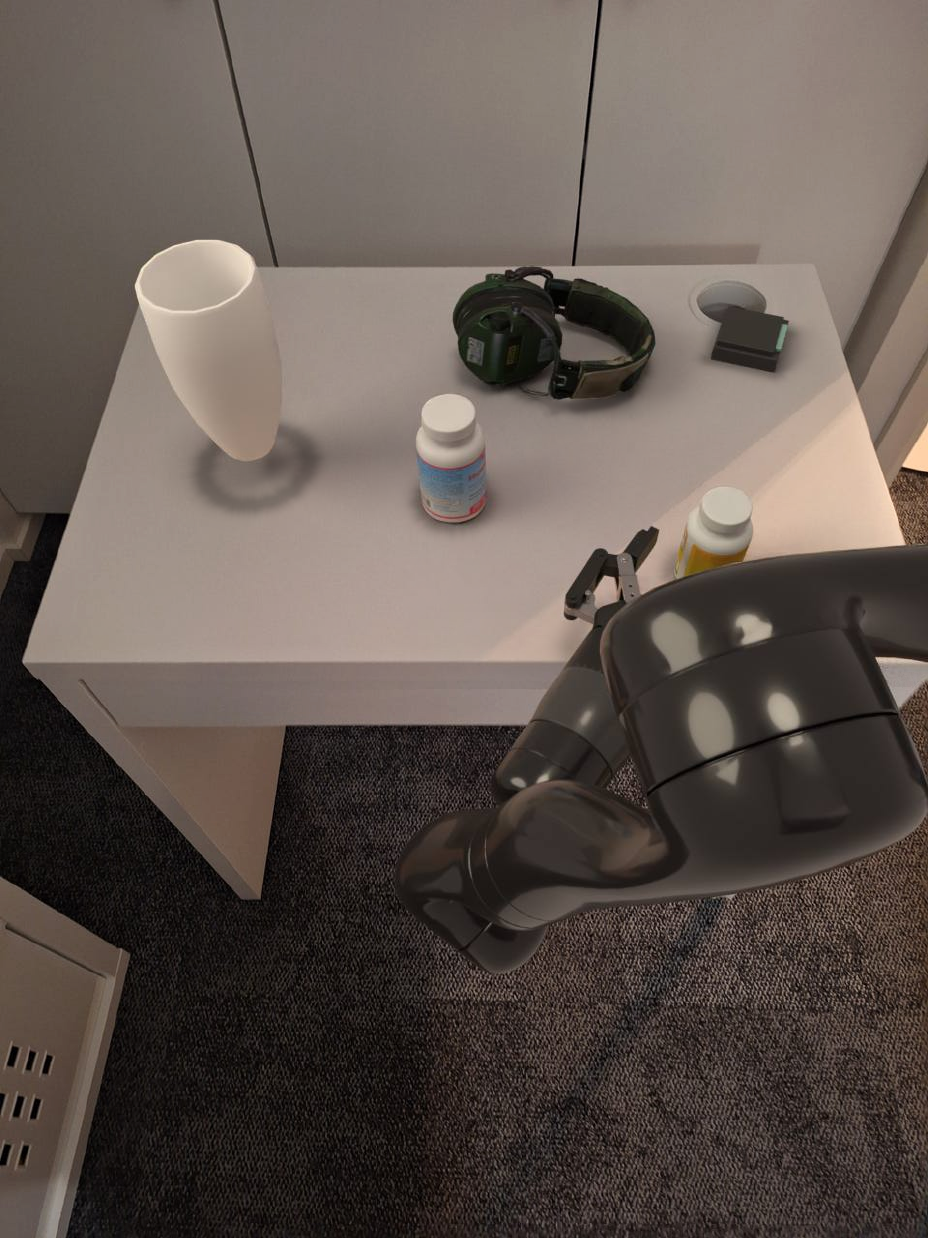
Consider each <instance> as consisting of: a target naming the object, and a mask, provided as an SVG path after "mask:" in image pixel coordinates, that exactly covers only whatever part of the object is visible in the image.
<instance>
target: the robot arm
mask: <svg viewBox="0 0 928 1238" xmlns="http://www.w3.org/2000/svg"><path fill="white" fill-rule="evenodd" d="M659 535H660V529H659V528H658V527H655V526H653V525H651V526H650V527H649V528H648V529H647V530H646V529H644V528H642V529H640V530H639V531H637V532H636V534H635V535H634V537H633V538H632V539H631V541H630V542H629V543H628V544H627V546H626V547H625V548H624V549H623V551H622V552H620V553H619V554H618V553H617V554H613V553H609V551H608V550H606V549H605V548H602V547H597V548H596V549H594V550H593V552H592V553H591V555H590V557H589V558H588V559H587V561H586V562H585V564H584V566H583V567H582V568H581V570H580V572H579V573H578V575H577V576H576V578H575V580H574V581H573V582H572V584H571V585H570V586H569V589H568V590H567V591H566V593H565V596H564V604H563V617H564V618H565V619H566V620H567V621H575V620H577V619H581V620H583V621H585V622H587V623H589V624H591V625H592V627H591V629H590V630H589V632H588V633H587V635H586V636H585V637H584V639H583V640H582V642H581V643H580V645H579V646H578V647H577V649H576V650H575V651H574V653H572V656H571V657H570V658H569V660H568V662H566V664H565V666H564V667H563V668H562V670H561V671H560V672H559V674H558V675H557V676H556V678H555V679H554V681H553V682H552V683H551V685H549V688H548V689H547V690H546V692H545V693H544V695H543V696H542V698H541V699H540V701H539V703H538V705H537V707H536V709H535V710H534V713H533V714H532V717H531V719H530V720H529V721H528V723H527V725H526V726H525V728H524V729H523V730H522V731H521V733H520V735H519V736H518V737H517V739H516V740H515V742H514V743H513V744H512V745H511V747H510V748H509V750H508V752H506V754H505V755H504V757H502V760H501V761H500V762H499V764H498V765H497V766H496V768H495V770H494V772H493V774H492V776H491V778H490V781H489V790H490V794H491V796H492V797H491V798H492V799H493V800H494V802H495V804H496V805H497V807H488V808H487V807H486V808H465V809H459V810H454V811H450V812H447V813H445V814H442V815H440V816H438V817H436V818H434V819H432V820H431V821H429V822H428V823H426V824H425V825H423V826H422V827H421V828H419V829H418V830H417V831H416V832H415V833H414V834H412V836H411V837H410V838H409V840H408V841H407V842H406V844H405V845H404V846H403V848H402V849H401V852H400V854H399V855H398V858H397V860H396V864H395V867H394V877H393V884H394V889H395V894H396V895H397V898H398V900H399V902H400V904H401V905H402V906H403V908H404V909H405V910H406V911H408V913H409V914H410V915H412V916H413V917H414V919H415V918H416V919H417V921H419V922H420V923H422V924H423V925H424V926H425V927H426V928H428V929H429V930H430V931H431V932H433V933H434V934H435V935H437V936H438V937H439V938H440V939H442V940H443V941H444V942H445V943H447V944H448V945H449V946H450V947H452V948H453V949H454V950H455V951H457V952H458V953H459V954H460V955H461V956H462V957H464V958H465V959H466V960H467V961H469V962H470V964H472V965H473V966H475V967H476V968H478V969H480V970H481V971H483V972H484V973H487V974H490V975H497V976H498V975H504V974H508V973H512V972H514V971H516V970H517V969H519V968H521V967H523V966H524V965H526V963H528V962H529V961H530V960H531V959H532V958H533V957H534V955H536V954H537V952H538V950H539V949H540V948H541V946H542V944H543V942H544V940H545V938H546V937H547V934H548V932H549V930H550V927H551V925H555V924H558V923H560V922H563V921H565V920H568V919H571V918H573V917H575V916H578V915H581V914H584V913H587V912H591V911H595V910H600V909H609V908H611V909H612V908H627V907H643V906H654V905H665V904H673V903H678V902H680V903H681V902H688V901H697V900H703V899H710V898H711V899H712V898H717V897H725V896H731V895H737V894H743V893H751V892H755V891H761V890H766V889H769V888H770V889H771V888H775V887H779V886H783V885H787V884H791V883H794V882H799V881H802V880H806V879H810V878H813V877H816V876H819V875H823V874H825V873H829V872H832V871H836V870H839V869H843V868H846V867H848V866H850V865H851V866H852V865H853V864H855V863H856V864H857V863H858V862H860V861H864V860H866V859H868V858H870V857H873V856H875V855H878V854H880V853H883V852H884V851H885V850H887V849H889V848H890V847H892V846H894V845H896V844H897V843H900V841H901V842H902V841H903V840H904V839H906V838H907V837H909V836H910V835H911V834H913V832H915V831H916V830H917V828H919V826H920V825H921V824H922V823H923V822H924V820H925V818H926V817H927V814H928V779H927V775H926V771H925V768H924V765H923V763H922V759H921V756H920V754H919V752H918V750H917V746H916V744H915V742H914V739H913V738H912V735H911V733H910V730H909V727H908V725H907V724H906V721H905V719H904V717H902V716H900V715H901V710H900V708H899V706H898V704H897V702H896V699H895V697H894V695H893V693H892V691H891V689H890V686H889V684H888V682H887V680H886V677H885V676H884V673H883V671H882V669H881V666H880V664H879V662H878V660H877V658H884V659H885V658H886V659H887V658H888V659H891V658H893V659H901V660H902V659H903V660H910V661H916V662H921V663H927V664H928V542H927V543H915V544H900V545H889V546H887V545H886V546H875V547H861V548H848V549H837V550H836V549H835V550H823V551H822V550H821V551H813V552H804V553H794V554H793V553H792V554H783V555H776V556H775V555H774V556H770V557H764V558H763V557H762V558H757V559H749V560H743V562H738V563H733V564H728V565H724V566H720V567H715V568H712V569H708V570H704V571H700V572H696V573H693V574H690V575H687V576H684V577H681V578H679V579H676V578H675V579H674V580H673V579H672V580H671V581H668V582H666V583H663V584H660V585H658V586H656V587H655V586H654V587H653V588H651V589H650V590H648V591H646V592H644V593H642V594H641V591H640V590H641V589H640V585H639V580H638V576H637V572H638V571H639V569H640V568H641V566H642V565H643V563H645V561H646V559H647V558H648V556H649V555H650V554H651V552H652V551H653V549H654V548H655V546H656V545H657V542H658V539H659ZM604 577H610V578H613V581H614V587H615V592H616V601H614V602H610V603H608V604H605V605H602V606H600V607H599V608H598V607H596V605H595V602H596V595H595V591H596V590H597V588H598V587H599V585H600V583H601V582H602V580H603V579H604ZM630 759H631V761H632V764H633V767H634V770H635V773H636V776H637V778H638V782H639V785H640V788H641V791H642V794H643V797H644V798H645V802H646V805H647V808H644V807H642V806H640V805H639V804H637V803H636V802H633V801H632V800H629V799H627V798H626V797H623V796H621V795H619V794H618V793H615V792H613V791H611V790H609V789H607V788H608V786H609V785H610V784H611V781H612V780H613V779H614V777H615V776H616V775H617V774H618V772H619V771H620V770H621V769H622V768H623V767H624V766H625V764H626V763H627V762H628V761H629V760H630Z"/></svg>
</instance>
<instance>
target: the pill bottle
mask: <svg viewBox="0 0 928 1238" xmlns="http://www.w3.org/2000/svg"><path fill="white" fill-rule="evenodd" d="M476 413H477V412H476V407H475V406H474V404H473V403H472V402H471V400H469V398H466V397H465V396H462V395H460V394H455V393H444V394H439V395H437V396H434V397H432V398H430V399H429V400H428V401H427V402H426V403H425V404H424V405H423V407H422V409H421V415H420V416H421V425H420V427H419V429H418V431H417V433H416V437H415V448H416V449H415V450H416V459H417V468H418V479H419V488H420V495H421V504H422V506H423V508H424V510H425V511H426V512H427V514H428V515H430V516H431V517H432V518H433V519H435V520H437V521H440V522H443V523H461V522H465V521H468V520H472V519H473V518H475V517H476V516H477V515H479V514H480V513H481V511H482V510H483V509H484V507H485V505H486V502H487V462H486V460H487V459H486V438H485V433H484V431H483V428H482V427H481V425H480V424H479V423H478V421H477V414H476Z"/></svg>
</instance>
